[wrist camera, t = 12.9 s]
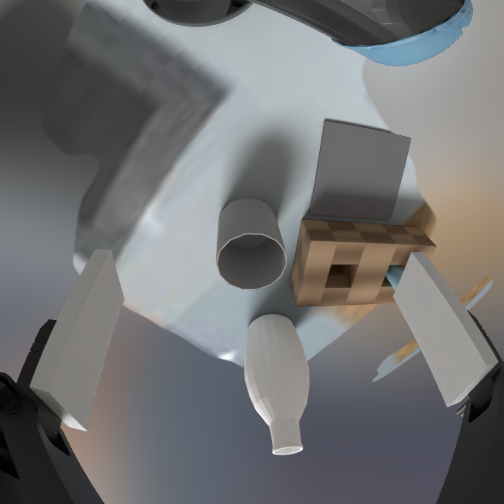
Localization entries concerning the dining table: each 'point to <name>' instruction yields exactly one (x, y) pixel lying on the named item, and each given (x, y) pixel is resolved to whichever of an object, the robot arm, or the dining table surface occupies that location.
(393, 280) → the peg
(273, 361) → the bottle
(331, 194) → the mat
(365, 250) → the block
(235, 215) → the cup
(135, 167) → the dining table surface
